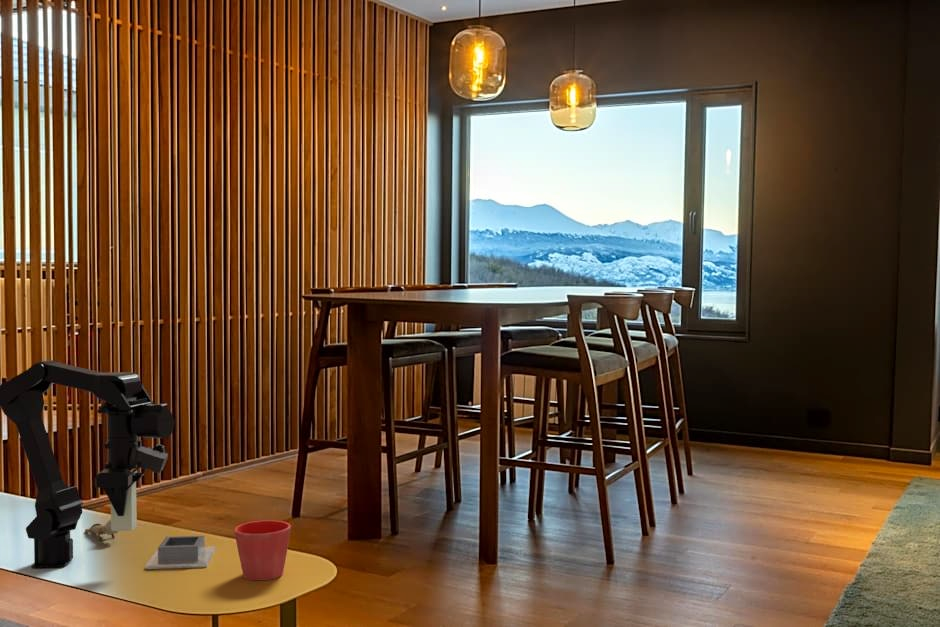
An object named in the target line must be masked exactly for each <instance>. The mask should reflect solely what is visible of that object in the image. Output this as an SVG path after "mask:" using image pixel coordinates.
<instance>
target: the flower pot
mask: <svg viewBox="0 0 940 627" xmlns="http://www.w3.org/2000/svg"><path fill="white" fill-rule="evenodd" d="M291 526H292V525H291V524H290V523H289V522H285V521H282V520H270V519H269V520H268V519H267V520H255V521H249V522H245V523H243V524H239V525H238V526H236V527H235V528H234V536H235V542H236V547H237V552H238V557H239V561H240V566H241V571H242V574H243V578H245V579H247V580H251V581H258V580H259V581H268V580H273V579H277V578H279V577H281V576H282V575H283V574H284V570H285V565H286V558H287V554H288V548H289V543H290V542H289V541H290V536H291V535H290V534H291V529H292V528H291Z"/></svg>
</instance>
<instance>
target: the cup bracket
mask: <svg viewBox="0 0 940 627" xmlns="http://www.w3.org/2000/svg"><path fill="white" fill-rule="evenodd" d="M216 549H217V548H216V546H205V535H183V536H182V535H177V536H165V537H164V539H163V540H162V541H161V543H160V544H159V546H158V547H157V549H156V551H155V552H154V554H152V556H151V558H150V559H149V560H148V561H147V563H146V565H145V570H158V569H159V570H162V569H163V570H164V569H188V568H189V569H192V568H193V569H195V568H196V569H197V568H208V565H209V564H210V561H211V559H212V558H213V556H214V553H215V551H216Z"/></svg>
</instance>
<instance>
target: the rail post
mask: <svg viewBox="0 0 940 627" xmlns="http://www.w3.org/2000/svg"><path fill="white" fill-rule="evenodd" d="M132 482H133V481H132ZM137 517H138V516H137V482H136V481H135V483H134V484H133V485H132V486H131V487H130V488H129V489H128V493H127V499H126V506H125V512H124V515H123V516H118V515H117V513H116V511H115V509H114V507H113V505H112V503H111V502H110V520H111V531H119V532H120V531H121V532H123V531H133V530H134V528H136V527H137V525H138V523H137V521H138V519H137Z"/></svg>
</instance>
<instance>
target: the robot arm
mask: <svg viewBox="0 0 940 627" xmlns="http://www.w3.org/2000/svg"><path fill="white" fill-rule="evenodd" d="M53 384H56V385H60V386H65V387H69V388H73V389H77V390H81V391H85V392H89V393H91V394H93V395H94V396H95V398H97V399H98V400H100V401H103V402H104V403H103V404H102V406H101V407H99V408H98V409H96V410H97V411H96V412H97V414H103V415H106V424H107V425H106V429H107V430H106V431H107V436H106V437H107V441H106V442H105V443H104V449H107V462H106V463H105V464H104V469H103V470H101V471H100V472H99V473H98V474H97V475H96V476H95V477H94V488H99V489H101V488H102V489H103V491H104V493H105V495H106V496H107V498H108V500H109V501H110V504H111V503H112V505H113V507H114V509H115V511H116V513H117V515H118V516H123V515H124V512H125V506H126V499H127V493H128V489H129V488H130V487H131V486H132V485H133V484H134V483H135V481H136V483H137V482H138V481H139V480H140V479H141V478H142V477H143V476H144V475H145V472H138V469H140V468H141V469H142V470H143V471H147V470H150V471H151V472H152V473H154V474H155V473H156V474H160V473H161V472H162V471H163V470H164V468H165V466H166V463H167V460H168V457H169V454H168V452H166V449H165V445H162V444H159V443H157V444H156V445H154V447H146V446H143V443H142V442H143V440H141V438H151V439H168V438H169V437H171V435H172V433H173V432H174V430H175V422H176V421H175V418H174V416H173V412H172V411H170V410H169V407H168V406H169V405H168V403H154V401H153V400H152V398H151V396H150V395H149V393H148V392H147V390H146V388H145V387H144V385H143V384H142V381H141V379H140V375H139V374H136V373H135V372H130V371H125V372H124V371H121V372H120V371H119V372H118V371H115V372H113V371H112V372H102V371H97V370H92V369H89V368H83V367H79V366H75V365H70V364H66V363H62V362H58V361H56V360H54V359H51V360H50V359H49V360H41V361H38V362H35V363H34V364H32V365H31V366H30V367H29V368H28V369H26V370H24V371H22V372H20V373H19V374H17V375H15V376H14V377H12V378H10V379H9V380H8V381H4V382H2V383H1V384H0V409H1V411H2V413H3V414H4V415H5V417H7V418H8V419H9V420H10V421H12V422H13V423H14V424H15V426H16V428H17V432H18V435H19V438H20V441H21V443H22V446H23V450H24V452H25V455H26V459H27V461H28V465H29V467H30V470H31V473H32V476H33V480H34V482H35V486H36V488H37V493H36V499H35V502H34V509H35V515H36V517H35V518H33V520H32V521H31V522H29V524H28V525H27V526H26V527H25V532H26V534H27V538H28V539H31V540H32V539H33V543H34V544H33V550H34V551H33V552H34V554H33V555H34V557H33V558H34V562H33V563H32V564H31V569H32V568H33V569H36V568H37V569H39V568H41V569H43V568H63V567H66V565H68V564H69V563H70V562H71V561H72V560H73V559H74V540H73V538H71V531H74V530H76V528H77V525H78V521H80V518H81V515H82V514H83V507H82V505H84V502H83V501H82V500H81V496H80V492H79V488H78V487H77V486H75V485H74V486H71V487H70V486H69V485H68V484H66V483H65V482H64V480H63V478H62V475H61V471H60V468H59V466H58V463H57V460H56V457H55V454H54V451H53V448H52V445H51V442H50V439H49V435H48V433H47V429H46V427H45V423H44V420H43V417H42V414H43V412H44V406H45V398H44V394H45V393H46V392H48V390H49V389H50V388H51V387H52V385H53ZM132 481H133V482H132Z"/></svg>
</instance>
